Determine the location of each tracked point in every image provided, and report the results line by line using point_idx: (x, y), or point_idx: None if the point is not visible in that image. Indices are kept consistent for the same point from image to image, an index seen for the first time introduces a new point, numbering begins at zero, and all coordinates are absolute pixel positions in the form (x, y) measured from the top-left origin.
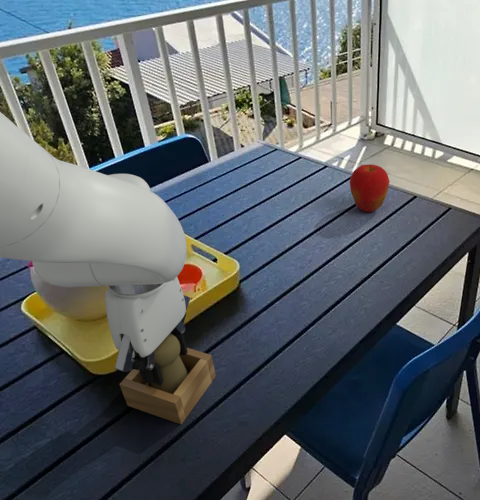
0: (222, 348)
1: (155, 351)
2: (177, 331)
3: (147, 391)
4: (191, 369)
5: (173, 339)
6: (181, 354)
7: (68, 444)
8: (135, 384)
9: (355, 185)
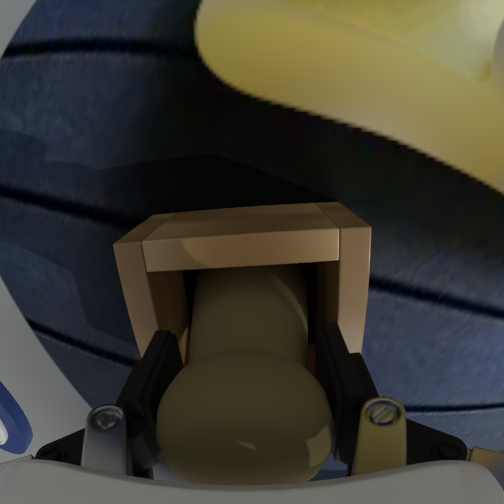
0: (418, 316)
1: (187, 478)
2: (348, 465)
3: (144, 348)
4: (320, 324)
5: None
6: (314, 376)
7: (28, 173)
8: (142, 296)
9: None
